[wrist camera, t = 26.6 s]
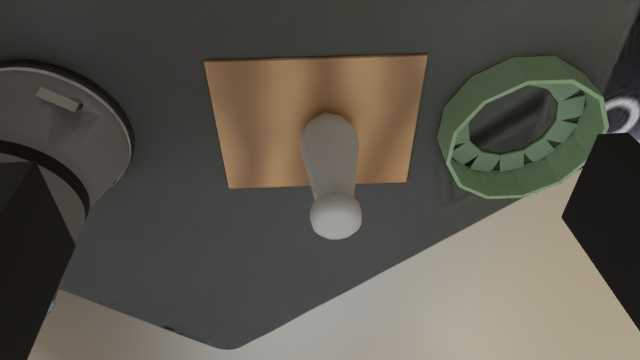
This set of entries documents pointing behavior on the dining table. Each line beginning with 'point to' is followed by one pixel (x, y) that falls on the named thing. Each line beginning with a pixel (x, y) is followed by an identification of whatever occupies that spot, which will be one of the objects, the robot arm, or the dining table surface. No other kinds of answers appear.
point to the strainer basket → (546, 160)
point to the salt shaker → (332, 175)
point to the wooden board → (314, 113)
